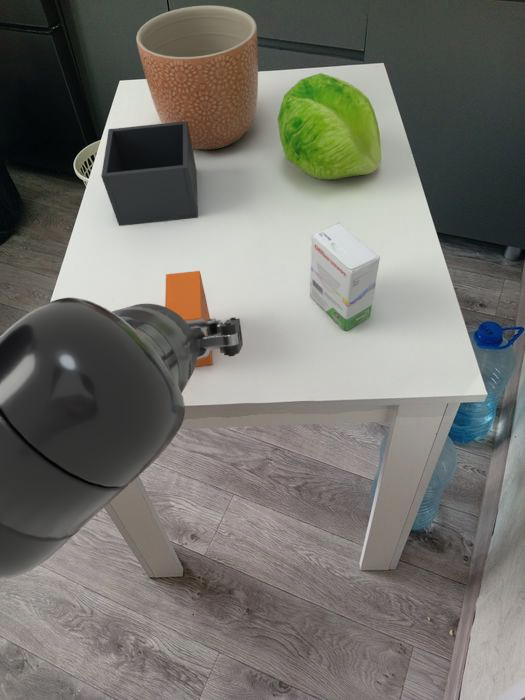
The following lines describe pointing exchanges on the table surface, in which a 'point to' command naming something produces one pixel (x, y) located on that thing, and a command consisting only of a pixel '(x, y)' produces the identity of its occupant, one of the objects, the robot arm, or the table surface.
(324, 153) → the lettuce
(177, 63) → the planter
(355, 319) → the ink box
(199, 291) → the block
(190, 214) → the dark grey open box
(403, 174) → the table surface
